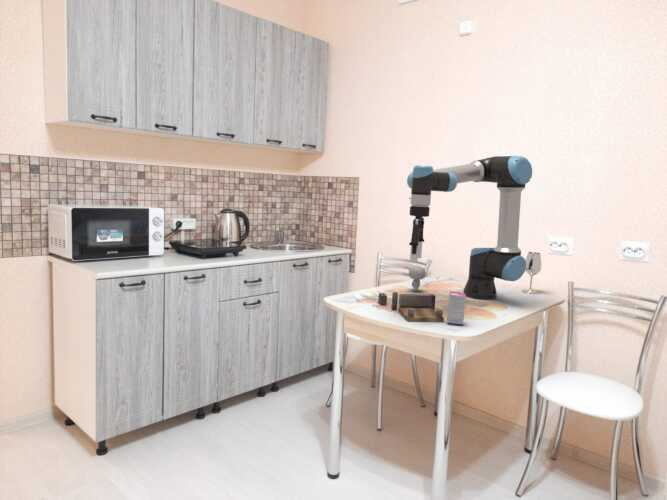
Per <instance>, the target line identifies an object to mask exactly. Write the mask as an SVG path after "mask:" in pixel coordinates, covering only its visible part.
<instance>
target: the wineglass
mask: <svg viewBox="0 0 667 500" xmlns="http://www.w3.org/2000/svg"><path fill="white" fill-rule="evenodd" d="M525 260H526V269H525V272H526V273H527V274H528V275H529V276H530V282H529V288H528V289H523V290H521V292H522V293H525V294H529V295H530V294H531V295H536V294H537V295H538V293H539V291H537V290H534V289H532V284H533V277H534V276H536V275H537V274H539V273H540V272H541V270H542V257H541V253H540V252H535V251H528V253H527V255H526V258H525Z"/></svg>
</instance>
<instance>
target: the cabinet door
mask: <svg viewBox="0 0 667 500" xmlns="http://www.w3.org/2000/svg"><path fill="white" fill-rule="evenodd" d="M391 295H392V296H391V309H392V311H397V310H398V311H399V312H400V313H401V314H400V313H399V312H398V313H399V314H400V315H401V316H402V317H403V318H404V319H405V320H406V322H410V323H411V322H412V323H413V322H414V323H415V322H416V323H417V322H418V323H444V322H445V317H443V313H444V310H442V309H436V310H434V309H433V308H398V302H399V293H398V292H397V291H392V294H391ZM391 309H390V310H391Z"/></svg>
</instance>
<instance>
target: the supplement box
mask: <svg viewBox="0 0 667 500" xmlns="http://www.w3.org/2000/svg"><path fill="white" fill-rule="evenodd" d="M466 300H467V296H466V295H465V293H463V292H461V291H460V292H459V291H450V292H449V297H448V308H447V316H446V324H447V325H452V326H461V327H462V326H464V319H465V318H464V317H465V311H466Z"/></svg>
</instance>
